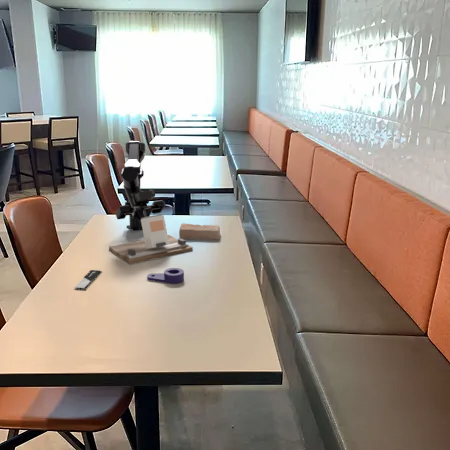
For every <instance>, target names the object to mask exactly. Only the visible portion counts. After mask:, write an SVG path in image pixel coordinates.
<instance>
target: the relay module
mask: <svg viewBox="0 0 450 450" xmlns="http://www.w3.org/2000/svg"><path fill="white" fill-rule="evenodd" d="M165 220H166V219H165V216H164V215H163V214H162V213H161V214H160V213H158V214H155V215H154V214H153V215H150V216H147V217H143V218H142V219H141V223H142V229H141V230H142V232H143V233H142V234H143V240H145V244H146V249H148V248H155V247H160V246H164V245H169V241H168V236H167V235H168V232H167V231H168V230H167V227H166V221H165Z"/></svg>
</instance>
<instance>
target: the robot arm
mask: <svg viewBox="0 0 450 450" xmlns="http://www.w3.org/2000/svg"><path fill="white" fill-rule="evenodd" d="M146 147H147V146H146V143H145V142H141V141H140V140H139V141H138V140H130V141H128V142H126V143H125V152H126V154H127V161H126V162H125V163H124V164H123V168H122V169H121V175H120V176H121V179H122V183H123V188H124V191H125V194H126V201H124V204H123V205H119V206H118V208H117V210H116V211H115V217H116V220H123V219H125V218H126V216H129V218H128V219H129V225H126V228H128V229H130V230H132V231H138V230H143V229H142V223H141V219H142V218H143V217H147V216H151V214H153V215H154V214H155V215H157V214H160V213H161V214H162V212H163V210H164V208H165V207H166V203H165V201H164V200H162V199H160V200H153V202H152V204H149V203H150V200H152V199H153V198H155V197H156V192H155V190H154V188H149V189H147V190H144V191H142V190H141V179H142V178H143V177H144V173H145V172H144V170H143V168H141V166H142V165H141V163H142V162H143V161H144V159H145V154H146V152H147V151H146V150H147V149H146ZM148 204H149V205H148Z"/></svg>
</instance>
